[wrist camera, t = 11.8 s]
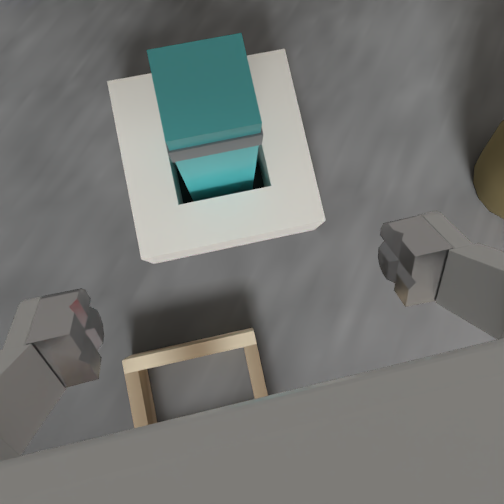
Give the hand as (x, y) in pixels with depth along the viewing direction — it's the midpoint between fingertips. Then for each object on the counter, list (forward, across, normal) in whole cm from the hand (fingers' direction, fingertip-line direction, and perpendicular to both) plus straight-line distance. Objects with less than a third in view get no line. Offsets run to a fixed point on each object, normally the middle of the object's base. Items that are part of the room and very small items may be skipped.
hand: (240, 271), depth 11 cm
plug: (+17, 0, +5) cm, 18 cm away
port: (+17, -1, +5) cm, 18 cm away
